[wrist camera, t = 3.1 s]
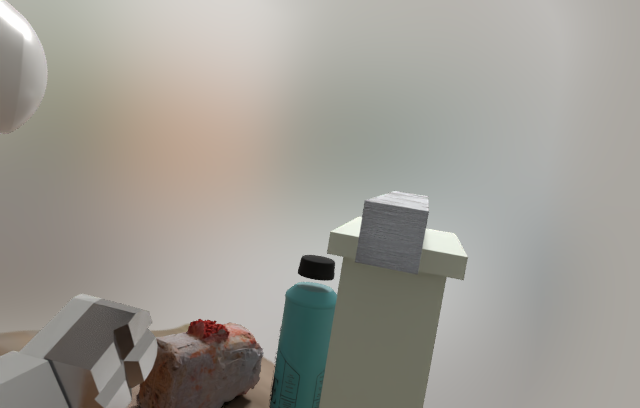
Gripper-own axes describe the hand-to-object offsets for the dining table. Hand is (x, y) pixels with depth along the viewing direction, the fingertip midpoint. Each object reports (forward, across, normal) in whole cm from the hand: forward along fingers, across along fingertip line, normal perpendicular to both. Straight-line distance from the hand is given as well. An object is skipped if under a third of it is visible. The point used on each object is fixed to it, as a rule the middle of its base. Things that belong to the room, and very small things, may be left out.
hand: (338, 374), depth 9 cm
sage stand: (+13, 0, +38) cm, 40 cm away
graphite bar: (+21, 0, +13) cm, 25 cm away
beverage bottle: (+25, +9, +45) cm, 52 cm away
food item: (+25, +21, +45) cm, 56 cm away
